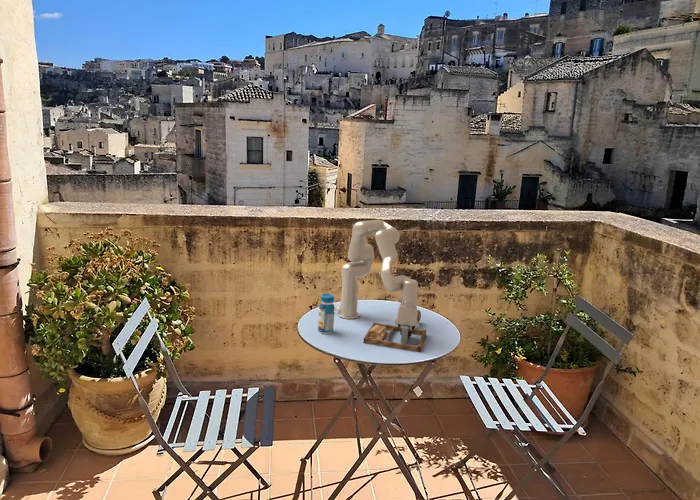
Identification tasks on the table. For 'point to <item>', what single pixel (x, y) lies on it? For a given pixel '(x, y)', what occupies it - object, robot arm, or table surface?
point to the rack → (393, 344)
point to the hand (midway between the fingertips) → (405, 336)
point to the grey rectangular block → (405, 334)
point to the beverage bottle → (326, 314)
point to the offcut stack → (378, 332)
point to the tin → (418, 315)
